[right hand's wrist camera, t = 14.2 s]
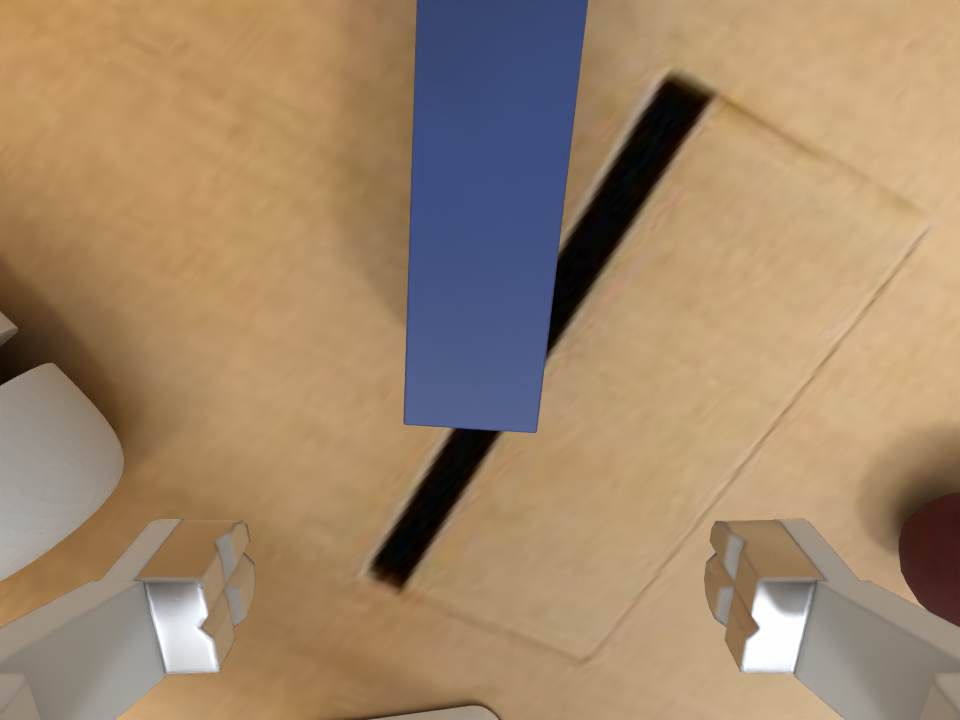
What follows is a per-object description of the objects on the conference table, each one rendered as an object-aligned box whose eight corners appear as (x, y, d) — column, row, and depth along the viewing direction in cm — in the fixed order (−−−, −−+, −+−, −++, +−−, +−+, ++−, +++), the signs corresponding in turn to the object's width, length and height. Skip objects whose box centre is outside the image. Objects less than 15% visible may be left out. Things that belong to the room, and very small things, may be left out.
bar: (522, 355, 32) (536, 434, 24) (422, 349, 32) (403, 425, 24) (584, -240, 23) (640, -439, 15) (448, -253, 23) (431, -461, 15)
